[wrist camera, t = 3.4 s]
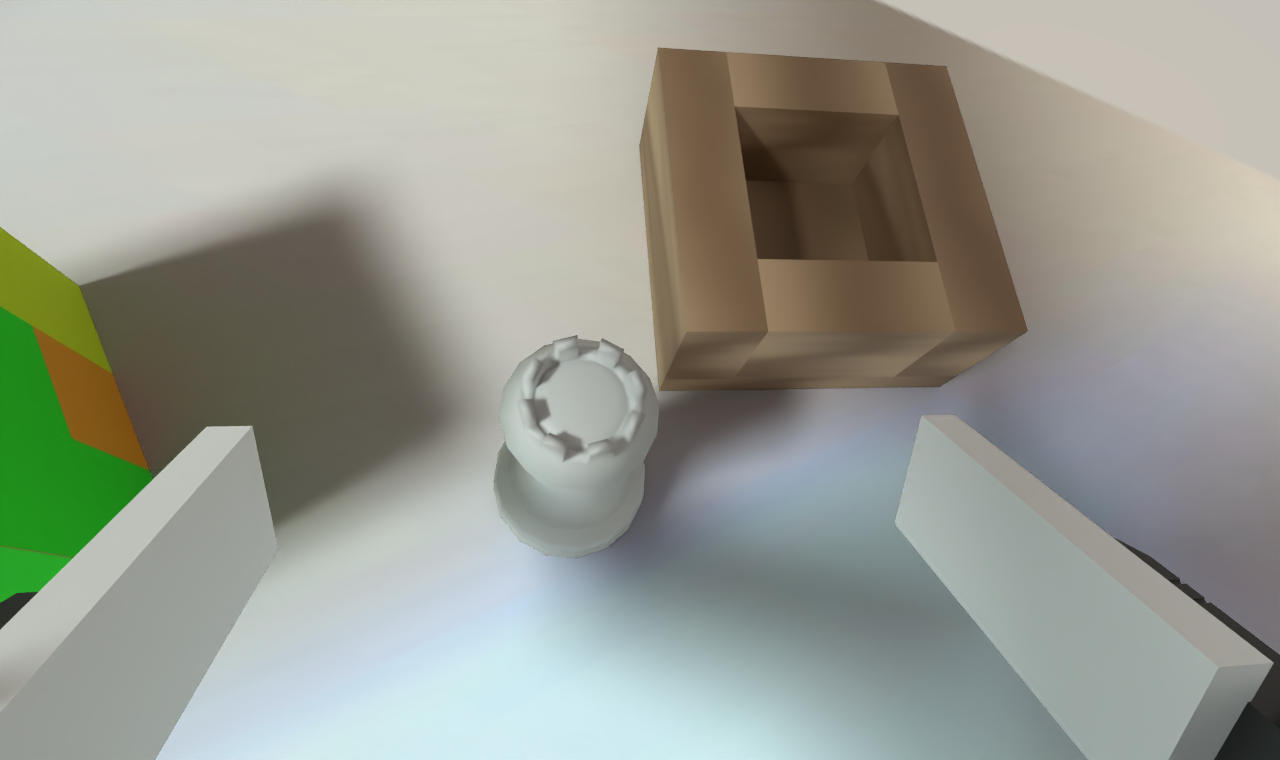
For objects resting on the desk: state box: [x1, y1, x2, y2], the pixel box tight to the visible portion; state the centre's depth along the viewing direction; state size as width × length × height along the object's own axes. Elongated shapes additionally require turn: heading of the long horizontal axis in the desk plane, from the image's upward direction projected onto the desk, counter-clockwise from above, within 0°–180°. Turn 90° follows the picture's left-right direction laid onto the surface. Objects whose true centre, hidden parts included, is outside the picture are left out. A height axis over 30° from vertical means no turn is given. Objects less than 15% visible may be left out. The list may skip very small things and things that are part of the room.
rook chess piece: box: [494, 335, 659, 558], centre depth 16 cm, size 4×4×8 cm
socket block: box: [639, 48, 1028, 391], centre depth 22 cm, size 10×10×4 cm
